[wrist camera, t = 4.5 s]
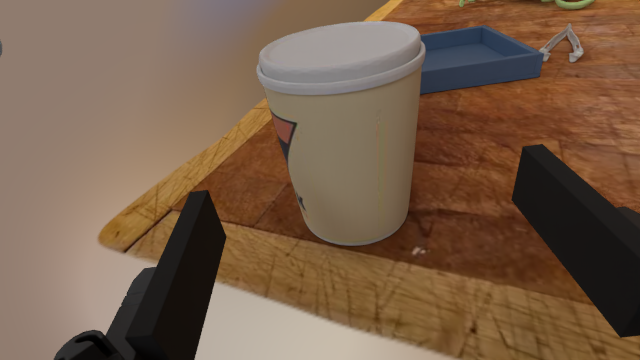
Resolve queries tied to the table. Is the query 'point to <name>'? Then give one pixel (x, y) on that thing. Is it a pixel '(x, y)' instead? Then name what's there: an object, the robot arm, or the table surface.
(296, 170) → the coffee cup
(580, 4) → the figurine
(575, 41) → the tweezers
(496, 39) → the dish tray
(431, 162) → the table surface
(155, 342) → the robot arm
